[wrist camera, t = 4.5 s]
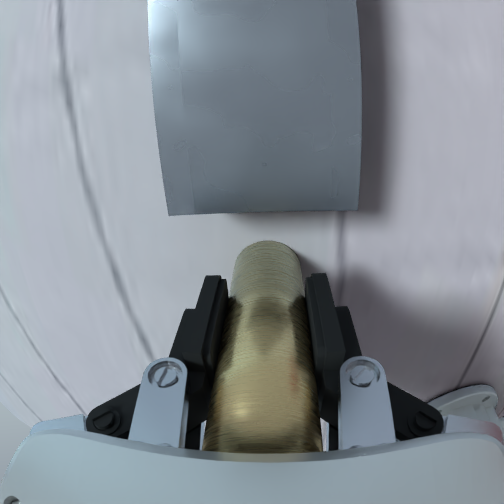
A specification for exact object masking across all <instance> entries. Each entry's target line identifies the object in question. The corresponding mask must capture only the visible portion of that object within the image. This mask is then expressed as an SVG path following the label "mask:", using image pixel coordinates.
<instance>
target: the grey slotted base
mask: <svg viewBox="0 0 504 504" xmlns="http://www.w3.org/2000/svg"><path fill="white" fill-rule="evenodd" d="M148 30H149V50H150V66H151V79H152V91H153V102H154V112H155V121H156V130H157V138H158V147H159V154H160V162H161V169H162V176H163V183H164V189H165V196H166V202H167V208H168V214H169V216H174V215H193V214H215V213H240V212H273V211H342V210H358V200H359V186H360V168H361V140H362V82H361V56H360V39H359V26H358V15H357V5H356V0H148Z"/></svg>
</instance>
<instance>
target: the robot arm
mask: <svg viewBox="0 0 504 504" xmlns="http://www.w3.org/2000/svg"><path fill="white" fill-rule="evenodd" d="M228 299H229V297H228V289H227V281H226V279H221V276H220V275H212V276H206V277H205V279H204V283H203V286H202V289H201V292H200V295H199V298H198V302H197V305H196V308H195V309H186V310H185V311H184V313H183V316H182V319H181V322H180V325H179V328H178V331H177V334H176V337H175V340H174V343H173V346H172V349H171V352H170V355H169V357H167V358H161V359H158V360H155V361H154V362H152V363H150V364H149V365H148V366H147V368H146V369H145V371H144V373H143V377H142V381H141V384H139V385H137V386H136V387H134V388H132V389H130V390H128V391H126V392H124V393H122V394H121V395H119V396H117V397H115V398H113V399H111V400H109V401H107V402H105V403H103V404H101V405H100V406H98V407H96V408H95V409H93V410H92V411H91V412H90V413H89V415H88V416H84V415H83V414H79V415H74V416H69V417H64V418H58V419H53V420H47V421H41V422H39V423H37V424H35V425H34V426H33V427H32V429H31V431H30V435H29V436H28V437H27V438H25V439H24V441H23V442H22V443H21V444H20V446H19V447H18V449H17V451H16V452H15V454H14V456H13V457H12V459H11V461H10V463H9V465H8V468H7V470H6V472H5V475H4V477H3V480H2V482H1V484H0V504H504V446H503V445H502V444H503V438H504V416H503V417H502V418H498V416H497V414H496V412H495V408H496V406H497V403H498V397H497V394H496V392H495V390H494V389H493V387H491V386H489V385H473V386H469V387H465V388H461V389H458V390H456V391H453V392H450V393H448V394H446V395H443V396H441V397H439V398H436V399H434V400H432V401H431V402H429V403H425V402H423V401H422V400H420V399H418V398H416V397H414V396H412V395H410V394H409V393H407V392H405V391H403V390H401V389H400V388H398V387H396V386H394V385H392V384H391V383H389V382H387V380H386V375H385V371H384V368H383V366H382V365H381V364H380V363H379V362H378V361H376V360H375V359H373V358H370V357H366V356H362V354H361V350H360V347H359V343H358V339H357V336H356V332H355V329H354V325H353V322H352V319H351V315H350V312H349V309H348V307H347V306H342V307H335V305H334V301H333V297H332V293H331V289H330V286H329V282H328V278H327V275H326V273H314V274H311V277H308V278H306V284H305V302H306V309H307V316H308V324H309V332H310V339H311V347H312V355H313V364H314V372H315V377H316V384H317V393H318V402H319V412H320V418H322V419H323V420H325V421H326V422H327V435H326V451H324V452H309V453H285V454H251V453H227V452H213V451H202V445H203V439H204V426H205V424H204V421H205V420H207V415H208V409H209V404H210V398H211V392H212V386H213V381H214V376H215V371H216V365H217V360H218V354H219V348H220V343H221V337H222V332H223V326H224V321H225V315H226V310H227V305H228Z"/></svg>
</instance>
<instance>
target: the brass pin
mask: <svg viewBox="0 0 504 504" xmlns="http://www.w3.org/2000/svg"><path fill="white" fill-rule="evenodd" d="M202 451H213V452H227V453H251V454H285V453H309V452H323V444H322V433H321V422H320V412H319V402H318V393H317V384H316V377H315V372H314V364H313V355H312V347H311V339H310V332H309V324H308V316H307V309H306V302H305V292H304V285H303V279H302V272H301V266H300V262H299V259H298V257H297V255H296V254H295V253H294V252H293V251H292V250H291V249H290V248H289V247H287V246H286V245H284V244H281V243H278V242H274V241H261V242H257V243H254V244H251V245H249V246H248V247H246V248H245V249H244V250H243V251H242V252H241V253H240V254H239V256H238V257H237V259H236V262H235V267H234V272H233V277H232V282H231V288H230V293H229V299H228V305H227V310H226V315H225V321H224V326H223V332H222V337H221V343H220V348H219V354H218V360H217V365H216V371H215V376H214V381H213V386H212V392H211V398H210V404H209V409H208V415H207V421H206V427H205V433H204V439H203V445H202Z"/></svg>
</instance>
